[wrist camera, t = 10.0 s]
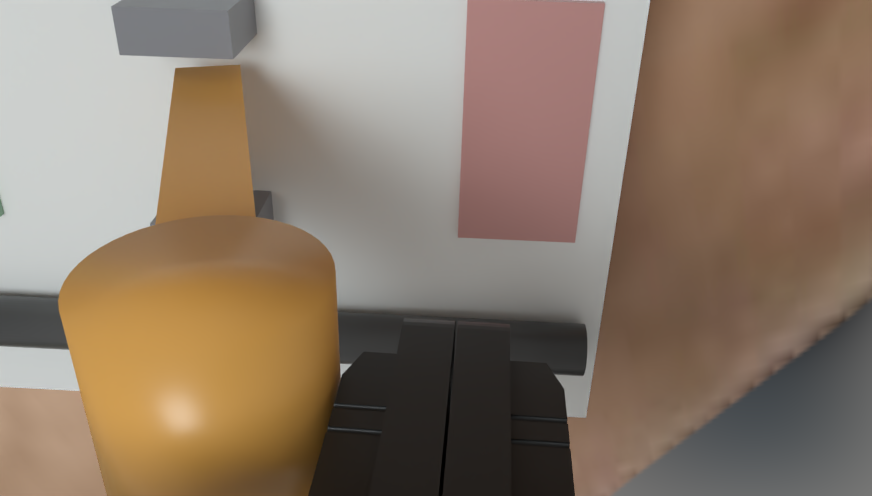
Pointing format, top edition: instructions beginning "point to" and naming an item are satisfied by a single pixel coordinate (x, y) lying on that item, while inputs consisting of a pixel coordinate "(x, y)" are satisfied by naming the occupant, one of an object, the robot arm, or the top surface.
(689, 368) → the top surface
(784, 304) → the top surface
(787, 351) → the top surface
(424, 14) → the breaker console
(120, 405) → the lever
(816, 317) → the top surface
